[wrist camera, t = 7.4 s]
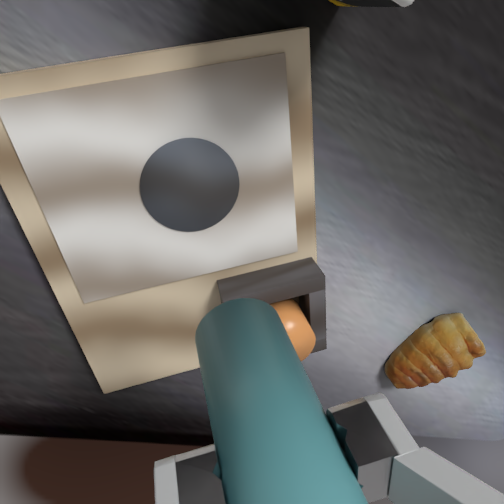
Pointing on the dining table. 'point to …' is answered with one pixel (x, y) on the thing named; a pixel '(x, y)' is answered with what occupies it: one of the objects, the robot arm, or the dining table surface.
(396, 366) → the pastry
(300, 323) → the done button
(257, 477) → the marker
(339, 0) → the medicine bottle
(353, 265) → the dining table surface
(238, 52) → the beige board with holder
